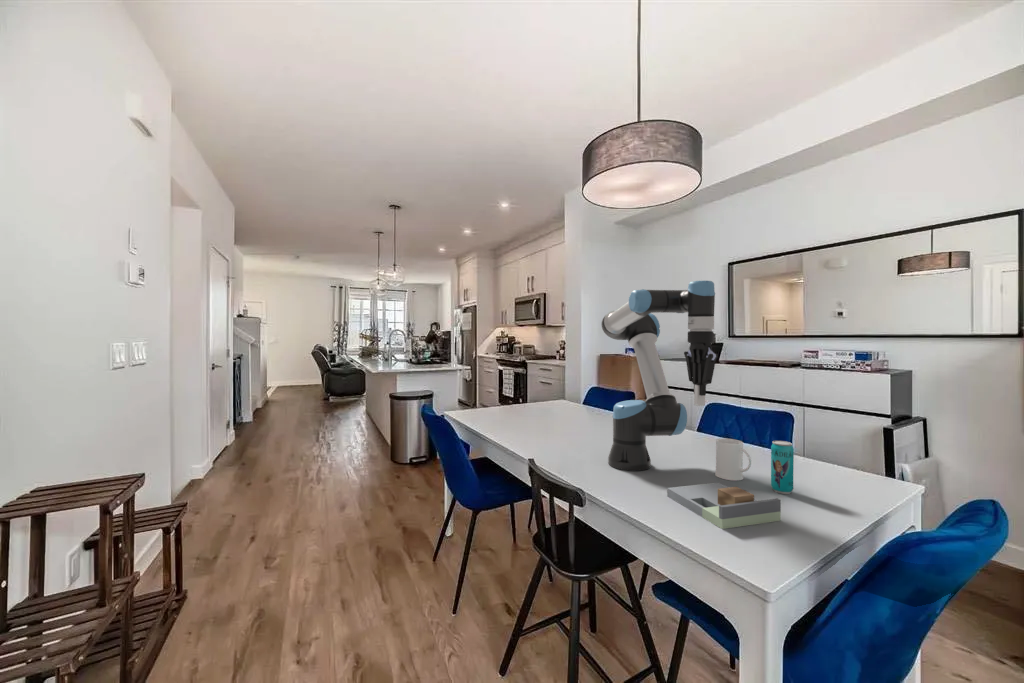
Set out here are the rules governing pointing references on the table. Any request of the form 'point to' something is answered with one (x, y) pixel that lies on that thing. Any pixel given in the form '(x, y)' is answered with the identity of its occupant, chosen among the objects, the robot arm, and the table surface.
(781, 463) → the beverage can
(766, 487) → the table surface
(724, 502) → the block
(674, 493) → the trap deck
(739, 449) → the mug
